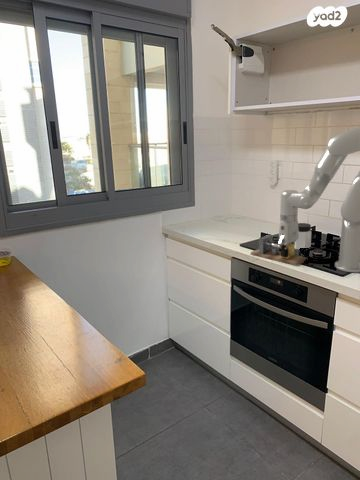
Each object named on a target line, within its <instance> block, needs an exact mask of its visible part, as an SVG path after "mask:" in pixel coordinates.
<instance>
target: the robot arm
mask: <svg viewBox="0 0 360 480" xmlns="http://www.w3.org/2000/svg"><path fill="white" fill-rule="evenodd" d="M359 151H360V126H358V127H356V128H353V129H350V130H348V131H344V132H341V133H338V134H335V135H333V136H332V137H331V138H330V139H329V140H328V142H327V146H326V148H325V151H324V152H323V154H322V155H321V157H320V158H319V160H318V162H317V163H316V165H315V166H314V172H313V175H312V177H311V179H310V180H309V182H308V184H306V187H305V188H304V190H303V191H301V192H298V191H297V190H294V189H285V190H282V191H281V193H280V214H279V215H280V219H279V220H280V223H279V228H278V229H279V230H278V245H279V246H280V248H279V249H280V252H281V256H282V257H288V249H287V245H288V244H289V243H292V244H295V242H296V240H297V239H298V237H299V229H298V223H299V221H298V213H299V209H302V210H307V209H311V208H312V207H314V205H315V204H317V202H318V201H319V199H320V198H321V196H322V194H323V193H324V192H325V190H326V188H327V187H328V185H329V184H330V182H331V181H332V180H333V178H334V177H335V176H336V174H337V172H338V170H339V169H340V167H341V166H342V164H343V162H345V160H346V158H347V157H348V155H350V154H354V153H356V152H359ZM340 216H341V218H342V221H341V230H340V231H341V232H340V243H339V244H340V245H339V256H338V257H339V258H338V260H337V261H335V262H334V267H335V268H336V269H337V270H339V271H342V272H346V273H347V272H348V273H360V170H359V171H358V173H357V175H355V176H354V179H353V181H352V183H351V184H350V186H349V189H348V190H347V193H346V196H345V198H344V200H343V203H342V205H341V207H340ZM284 244H285V245H284Z"/></svg>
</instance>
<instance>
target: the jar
mask: <svg viewBox="0 0 360 480" xmlns="http://www.w3.org/2000/svg"><path fill="white" fill-rule="evenodd" d="M311 226H312V225H311V224H310V223H305V222H298V229H299V237H298V239H297V240H296V242H295V247H294V250H299V249H300V248H309V247H311V245H312V244H311V243H312V227H311ZM311 248H312V247H311ZM309 249H310V248H309Z"/></svg>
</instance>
